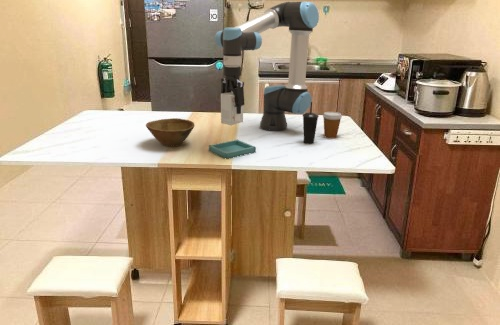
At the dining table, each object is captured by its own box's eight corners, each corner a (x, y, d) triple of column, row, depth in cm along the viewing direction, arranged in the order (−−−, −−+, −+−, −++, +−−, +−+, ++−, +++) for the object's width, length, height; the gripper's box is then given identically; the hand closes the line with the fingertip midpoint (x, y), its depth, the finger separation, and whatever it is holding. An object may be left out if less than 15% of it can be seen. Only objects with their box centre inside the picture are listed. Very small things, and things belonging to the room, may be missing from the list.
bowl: (155, 154, 179) (153, 132, 176) (142, 140, 198) (141, 120, 195) (201, 147, 189) (201, 127, 185) (185, 135, 208) (184, 116, 204)
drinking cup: (317, 141, 201) (320, 101, 195) (315, 145, 195) (318, 104, 188) (302, 139, 204) (305, 99, 197) (299, 143, 197) (301, 102, 190)
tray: (208, 150, 184) (208, 145, 184) (237, 144, 194) (237, 139, 193) (226, 159, 174) (226, 153, 173) (255, 152, 183) (255, 146, 183)
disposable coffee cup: (339, 139, 205) (342, 116, 200) (320, 138, 206) (322, 115, 202) (339, 134, 213) (342, 112, 209) (321, 133, 215) (323, 111, 211)
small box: (232, 119, 184) (233, 91, 180) (243, 122, 180) (243, 93, 176) (220, 123, 178) (220, 93, 174) (231, 125, 174) (231, 95, 170)
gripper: (211, 64, 176) (212, 115, 184) (239, 69, 161) (238, 125, 169) (226, 63, 180) (226, 113, 188) (253, 67, 166) (252, 122, 174)
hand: (232, 119), depth 179 cm, fingers closed on small box, 7 cm apart
